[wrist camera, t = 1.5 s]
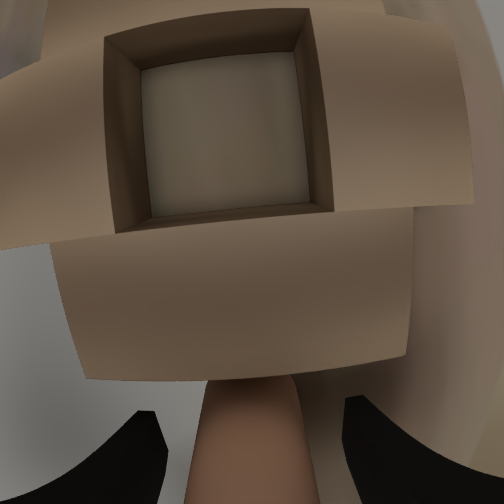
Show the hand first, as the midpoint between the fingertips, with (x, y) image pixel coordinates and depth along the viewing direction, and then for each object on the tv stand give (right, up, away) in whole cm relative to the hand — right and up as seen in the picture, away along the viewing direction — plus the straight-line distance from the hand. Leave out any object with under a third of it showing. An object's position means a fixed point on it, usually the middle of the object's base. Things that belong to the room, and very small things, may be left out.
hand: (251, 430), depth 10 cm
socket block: (-1, +10, 0) cm, 10 cm away
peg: (0, 0, +2) cm, 2 cm away
